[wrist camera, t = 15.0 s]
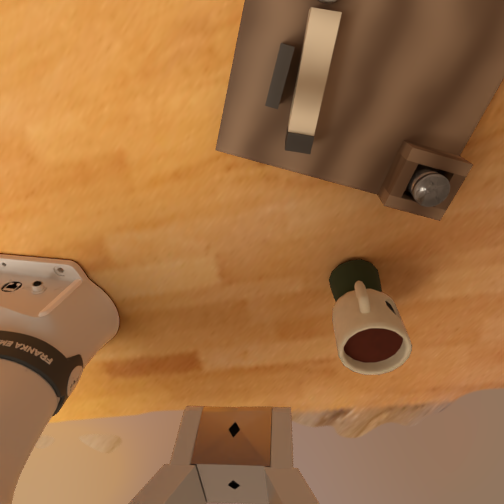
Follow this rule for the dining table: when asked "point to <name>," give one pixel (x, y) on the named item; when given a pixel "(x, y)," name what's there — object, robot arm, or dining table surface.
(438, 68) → the wooden desk organizer
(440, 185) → the leg peg
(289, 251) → the dining table surface
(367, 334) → the character mug
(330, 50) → the folding leg
